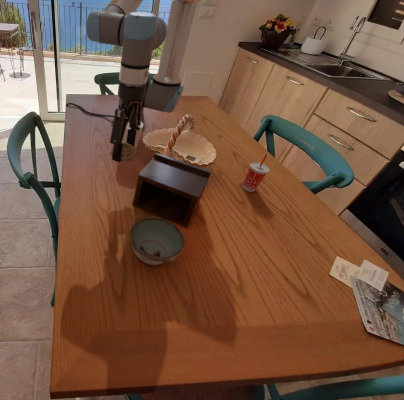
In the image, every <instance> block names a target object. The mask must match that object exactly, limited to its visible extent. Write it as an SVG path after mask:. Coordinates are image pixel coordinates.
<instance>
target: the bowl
mask: <svg viewBox="0 0 404 400" xmlns="http://www.w3.org/2000/svg"><path fill="white" fill-rule="evenodd" d="M129 235H130V245H131V248H132V251H133V253H134V254H135V256H136V257H137V258H138V260H140V261H141V262H143V263H145V264H147V265H150V266H153V267H162V266H166V265H169V264H170V263H172V262H173V261H175V260H176V259H177V258H178V257H179V255H180V253H182V251H183V249H184V248H185V245H186V239H185V236H184V233H183V232H182V231H181V229H180V228H179V227H178V226H177V224H174V222H172V221H170V220H168V219H165V218H163V217H160V216H145V217H142V218H140V219H137V221H135V222H134V223H133V224H132V226H131V228H130V232H129Z"/></svg>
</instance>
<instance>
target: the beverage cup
mask: <svg viewBox="0 0 404 400" xmlns="http://www.w3.org/2000/svg"><path fill="white" fill-rule="evenodd" d="M267 156H268V153H266V154H265V155H264V157H263V158H262V161H261V162H256V161H255V162H251V163H250V164H249V168H248V170H247V173H246V175H245V177H244V179H243V182H242V185H241V188H242V189H243V190H244V191H246V192H248V193H249V192H250V193H254V192H255V191H256V190H257V189H258V187H259V186H260V184H261V183H262V181H263V180H264V178H265V177H266V175H267V174H269V172H270V168H269V167H268V166H267V165H266V164H264V162H265V161H266V158H267Z"/></svg>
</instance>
